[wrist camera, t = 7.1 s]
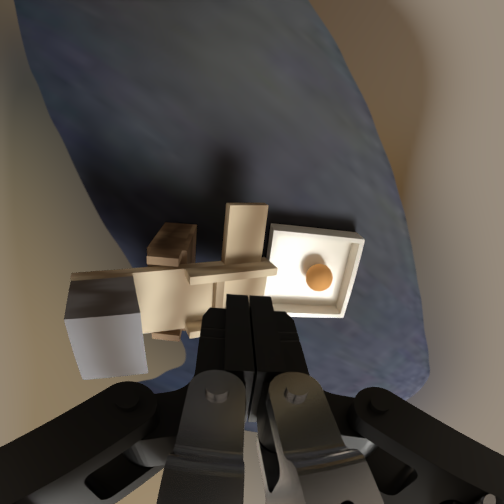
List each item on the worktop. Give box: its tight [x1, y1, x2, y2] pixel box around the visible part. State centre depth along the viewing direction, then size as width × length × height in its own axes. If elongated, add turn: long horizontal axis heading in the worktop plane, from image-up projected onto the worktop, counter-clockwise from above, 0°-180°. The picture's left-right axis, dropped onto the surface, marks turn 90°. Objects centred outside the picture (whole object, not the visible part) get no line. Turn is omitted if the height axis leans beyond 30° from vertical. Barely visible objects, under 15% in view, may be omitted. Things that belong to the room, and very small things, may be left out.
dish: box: [264, 223, 365, 318], centre depth 38 cm, size 12×12×3 cm
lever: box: [64, 203, 278, 380], centre depth 25 cm, size 20×13×7 cm, turn 84°
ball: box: [306, 264, 333, 291], centre depth 37 cm, size 4×4×4 cm
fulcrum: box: [147, 222, 197, 342], centre depth 32 cm, size 4×10×10 cm, turn 174°
